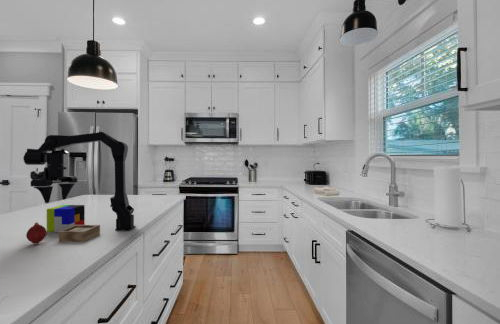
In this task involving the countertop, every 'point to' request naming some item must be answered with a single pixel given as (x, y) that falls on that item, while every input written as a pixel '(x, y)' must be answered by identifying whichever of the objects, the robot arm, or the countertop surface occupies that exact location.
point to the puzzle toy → (65, 217)
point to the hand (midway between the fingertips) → (55, 201)
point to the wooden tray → (79, 233)
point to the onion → (36, 233)
